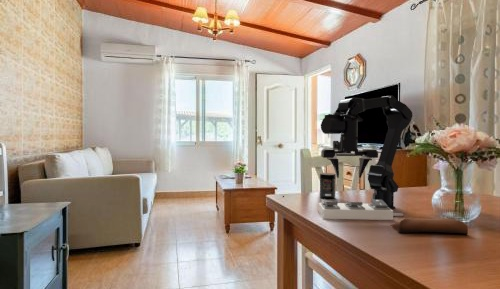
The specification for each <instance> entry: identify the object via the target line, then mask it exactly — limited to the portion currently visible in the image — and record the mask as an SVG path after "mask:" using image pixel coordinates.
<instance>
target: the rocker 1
mask: <svg viewBox="0 0 500 289" xmlns="http://www.w3.org/2000/svg"><path fill="white" fill-rule="evenodd" d="M323 203H324V204H326V205H338V203H339V202H338V201H334V200H333V201H331V200H328V201H327V200H326V201H323Z"/></svg>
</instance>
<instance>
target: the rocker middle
mask: <svg viewBox="0 0 500 289" xmlns="http://www.w3.org/2000/svg"><path fill="white" fill-rule="evenodd" d="M346 203H347V204H348V205H362V204H363V202H362V201H346Z"/></svg>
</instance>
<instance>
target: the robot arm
mask: <svg viewBox="0 0 500 289" xmlns="http://www.w3.org/2000/svg"><path fill="white" fill-rule="evenodd" d="M390 107H391V108H390ZM378 108H382V112H383V115H384V116H385V117H386V124H387V127H388V129H387V131H386V135H385V139H384V141H383V142H384V143H383V145H382V148H381V152H380V155H379V151H378V150H377V149H373V148H370V149H369V148H368V149H367V148H365V149H364V148H362V150H359V148H358V140H359V136H358V130H359V128H358V127H359V126H358V122H363V120H364V119H363V118H362V117H360V116H359V114H361V113H363V112H365V111H366V110H372V109H378ZM412 118H413V111H412V110H411V109H410V108H409V107H408V106H407V104H405V103H404V102H402V101H400V100H398V99H397V98H396V97H395V96H394V95H386V96H385V95H384V96H381V97H374V98H367V99H366V98H360V97H351V98H346V99H340V101H339V102H338V105H337V107H336V109H335V110H334V112H333V113H332V114H331V113H327V114H324V118H323V119H322V121H321V123H320V129H321V130H320V131H321V132H322V133H323V134H325V135H340V137H339V138H340V139H339V140H333V141H332V148H330V149H329V148H323V149H322V150H321V151H320V152H321V153H320V155H321V156H320V157H321V158H324V159H325V158H326V160H329V161H330V162H331V164H332V167H333V169H334V170H333V171H334V172H335V173H334V174H336V178H337V179H339V177H340V168H339V159H338V157H344V156H345V157H359V158H358V160H359V166H358V178H359V179H360V178H362V176H363V174H364V171H365V168H366V167H367V166H368V164H369V162H370V161H372V160H373V159H377V158H378V160H377V162H376V164H371V165H370V166H369V170H368V172H367V181H368V184H369V188H370V190H373V193H372V199H375V200H383V201H384V202H385V203H386V204H387V205H388V207H389V208H391V209H396V206H394V204H395V203H394V196H395V195H394V193H397V192H398V190H399V185H398V183H397V182H396V181H395V180H394V177H395V176H394V175H395V173H394V170H393V167H392V166H393V162H394V160H395V157H396V156H395V155H396V153H397V149H398V147H399V146H398V145H399V143H400V140H401V136H402V133H403V131H404V130H405V129H406V128H407V127H408V126H410V123H411V120H413V119H412Z"/></svg>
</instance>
